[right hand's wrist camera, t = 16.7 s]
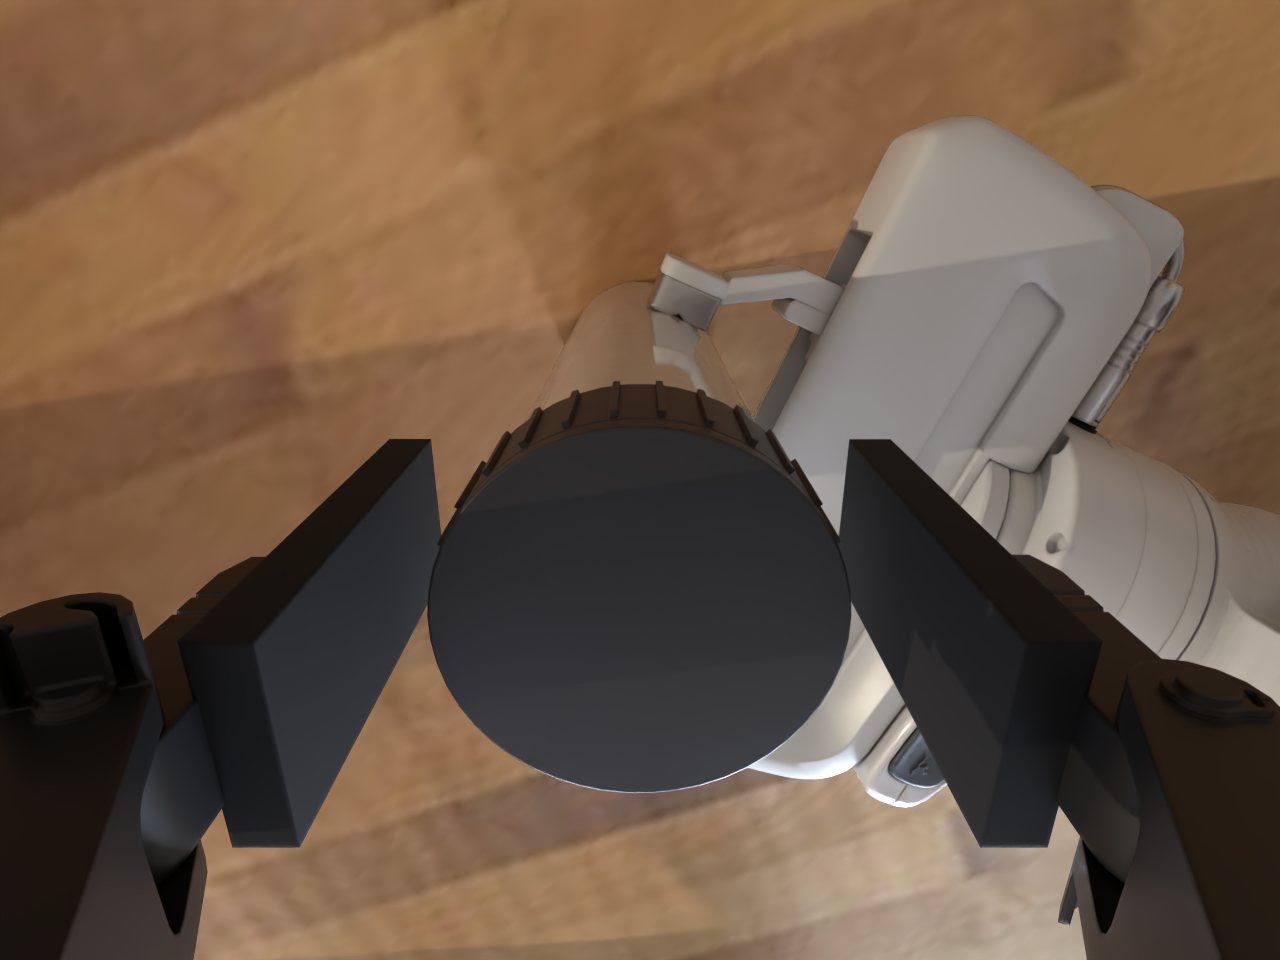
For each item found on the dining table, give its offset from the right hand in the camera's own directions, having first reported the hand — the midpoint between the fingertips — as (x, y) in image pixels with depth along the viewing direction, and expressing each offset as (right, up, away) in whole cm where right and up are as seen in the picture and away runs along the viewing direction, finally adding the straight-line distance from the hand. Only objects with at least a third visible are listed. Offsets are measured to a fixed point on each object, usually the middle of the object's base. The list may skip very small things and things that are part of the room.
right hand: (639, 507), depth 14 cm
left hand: (-1, +3, +8) cm, 8 cm away
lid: (0, -1, -4) cm, 4 cm away
